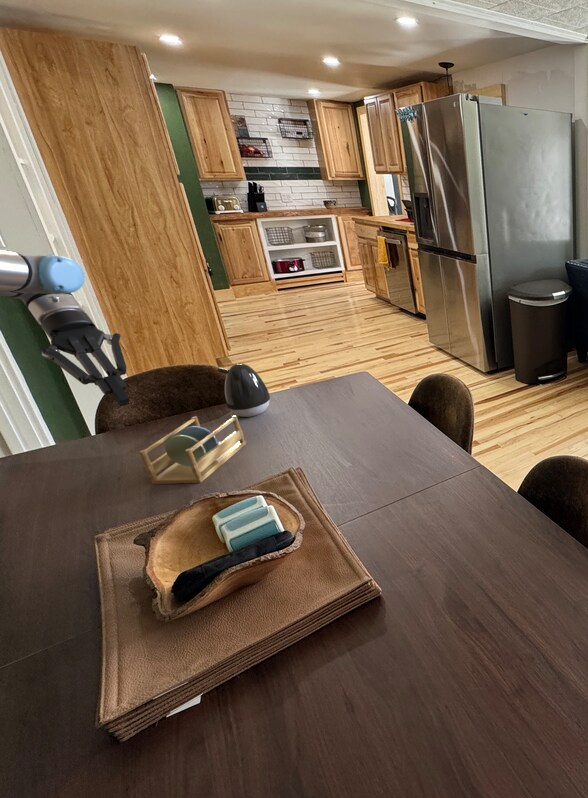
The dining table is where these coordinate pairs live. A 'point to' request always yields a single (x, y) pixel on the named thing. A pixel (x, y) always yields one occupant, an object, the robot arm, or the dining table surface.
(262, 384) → the pump dispenser
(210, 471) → the dish rack
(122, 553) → the dining table surface
